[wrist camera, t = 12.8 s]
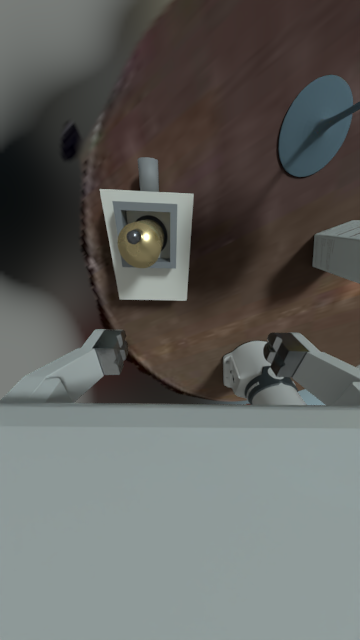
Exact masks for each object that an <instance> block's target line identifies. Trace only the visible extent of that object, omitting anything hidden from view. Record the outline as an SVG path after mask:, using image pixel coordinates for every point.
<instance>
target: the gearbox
mask: <svg viewBox="0 0 360 640" xmlns="http://www.w3.org/2000/svg"><path fill="white" fill-rule="evenodd" d="M138 168H139V181H140V191H128V190H108V189H100V194H101V200H102V205H103V211H104V216H105V222H106V227H107V233H108V238H109V244H110V249H111V255H112V260H113V266H114V271H115V277H116V282H117V288H118V293H119V299H121V300H180V301H187V288H188V273H189V258H190V242H191V227H192V212H193V196H194V194H188V193H168V192H159V184H158V160H156V159H153V158H146V157H144V158H138ZM146 219H150V220H153V221H155V222H157V223H158V224H159V225H160V226H161V228H162V229H163V232H164V243H163V246H162V249H161V253H160V256H159V258H158V260H157V261H156V262H155V263H154V264H153V265H152V266H150V267H147V268H136V267H133V266H131V265H130V264H128V263H127V262H126V261H125V260H124V259H123V258H122V256H121V254H120V252H119V249H118V236H119V233H120V231H121V230H122V228H123V227H124V226H126V225H127V224H129V223H133V222H137V221H141V220H146Z"/></svg>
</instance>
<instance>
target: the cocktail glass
mask: <svg viewBox="0 0 360 640" xmlns="http://www.w3.org/2000/svg"><path fill="white" fill-rule="evenodd" d="M359 109H360V102H358V103H356V104H355V105H353V98H352V93H351V90H350V87H349V86H348V84H347V82H346V81H345V80H344V79H342V78H341V77H339V76H336V75H327V76H323V77H320V78H318V79H316V80H314V81H313V82H311V83H310V84H309V85H308V86H306V87H305V88H304V89H303V90H302V91H301V92H300V94H299V95H298V96H297V97H296V99H295V100H294V101H293V103H292V105H291V106H290V108H289V110H288V112H287V114H286V116H285V118H284V121H283V124H282V127H281V131H280V135H279V146H278V150H279V157H280V161H281V164H282V166H283V168H284V169H285V170H286V171H287V172H288V173H289V174H291V175H293V176H296V177H305V176H309V175H311V174H314V173H315V172H317V171H319V170H320V169H322V168H323V167H324V166H325V165H326V164H327V163H328V162H329V161H330V160H331V159H332V158H333V157H334V156H335V154H336V153H337V151H338V150H339V148H340V147H341V145H342V143H343V141H344V139H345V137H346V135H347V132H348V129H349V127H350V123H351V119H352V113H354V112H355V111H357V110H359Z"/></svg>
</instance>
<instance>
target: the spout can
mask: <svg viewBox="0 0 360 640" xmlns="http://www.w3.org/2000/svg"><path fill="white" fill-rule="evenodd" d="M163 243H164V232H163V229H162V228H161V226H160V225H159V224H158V223H157V222H155V221H153V220H150V219H146V220H141V221H137V222H133V223H129V224H127V225H126V226H124V227H123V228H122V230H121V231H120V233H119V236H118V249H119V252H120V254H121V256H122V258H123V259H124V260H125V261H126V262H127V263H128V264H130V265H131V266H133V267H136V268H147V267H150V266H152V265H153V264H154V263H155V262H156V261H157V260H158V258H159V256H160V253H161V249H162V246H163Z"/></svg>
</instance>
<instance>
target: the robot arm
mask: <svg viewBox="0 0 360 640" xmlns="http://www.w3.org/2000/svg"><path fill="white" fill-rule="evenodd" d="M125 338H126V333H125V331H124V330H111V329H96V330H94V332H93V333H92V334H91V335H90V337H89V338H88V339H87V341H86V342H85V343H84V345H83V346H82V347H81V348H77V349H76V350H74V351H72V352H70V353H68V354H66V355H64V356H62V357H60V358H58V359H57V360H55V361H53V362H51V363H49V364H47V365H45V366H43V367H41V368H40V369H38V370H36V371H34V372H32V373H30V374H28V375H26V376H24V377H23V378H22V379H21V380H20V381H19V382H18V383H17V384H16V385H15V386H14V387H13V388H12V389H11V390H10V391H9V392H8V393H7V394H6V395H5V396H4V397H3V398H2V399H1V400H0V640H360V369H358V368H356V367H354V366H352V365H350V364H347V363H345V362H343V361H341V360H339V359H337V358H335V357H333V356H331V355H328V354H326V353H324V352H320V351H319V350H318V349H317V348H316V347H315V346H314V345H312V344H311V343H310V342H309V341H308V340H307V339H306V338H305V337H304V336H303V335H302V334H300V333H270V334H269V335H268V338H267V339H268V341H269V342H268V343H267V342H264V341H252V342H248V343H245V344H243V345H241V346H239V347H238V348H237V349H235V350H234V351H233V352H231V353H229V354H227V355H225V356H224V357H223V383H224V385H225V386H227V387H230V388H232V389H233V392H234V394H235V395H237V396H239V397H243V398H247V400H248V401H249V403H250V404H246V405H230V404H229V405H228V404H225V405H224V404H129V403H126V404H125V403H74V402H75V401H76V400H77V399H78V398H80V397H81V396H82V395H83V394H84V393H85V392H86V391H87V390H88V389H90V388H91V387H92V386H93V385H94V384H95V383H96V382H97V381H98V380H99V379H101V378H102V377H103V376H104V375H120V373H121V370H122V368H123V365H124V364H123V361H124V360H125V359H126V357H127V354H128V343H127V342H126V341H125ZM290 377H292V378H293V379H294V380H295V381H296V382H298V383H299V384H300V385H301V386H303V387H304V388H305V389H306V390H308V391H309V392H310V393H312V394H313V395H314V396H315V397H317V398H318V399H319V400H320V401H322V402H323V403H324V404H325V405H306V403H305V402H304V401H303V399H302V398H301V396H300V395H299V394H298V390H297V388H296V386H295V384H294V382H292V380H291V379H290Z"/></svg>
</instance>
